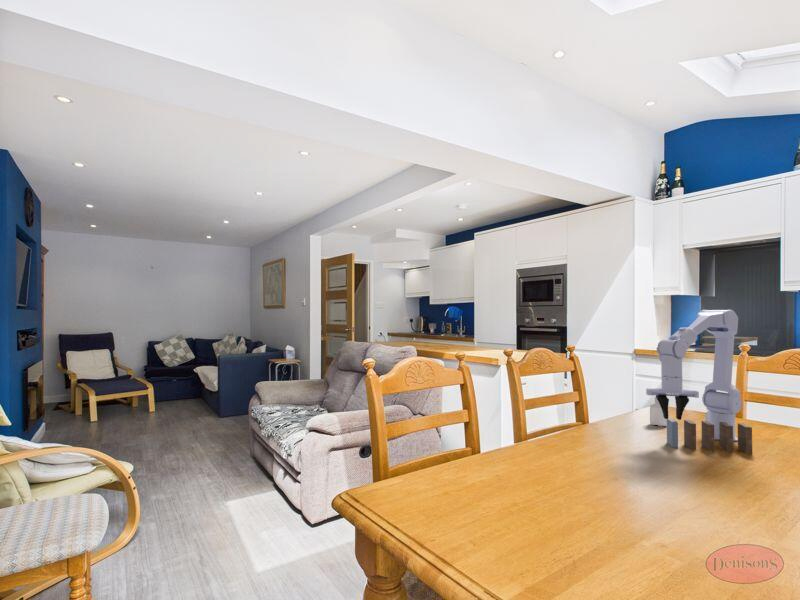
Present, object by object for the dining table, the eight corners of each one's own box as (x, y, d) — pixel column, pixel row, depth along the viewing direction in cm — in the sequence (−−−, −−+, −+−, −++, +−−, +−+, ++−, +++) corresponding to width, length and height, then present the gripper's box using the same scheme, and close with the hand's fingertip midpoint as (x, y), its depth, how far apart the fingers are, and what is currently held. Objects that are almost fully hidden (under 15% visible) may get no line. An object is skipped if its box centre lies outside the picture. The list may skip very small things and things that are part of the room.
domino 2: (690, 449, 135) (690, 423, 135) (684, 444, 140) (683, 419, 140) (696, 449, 134) (695, 423, 135) (689, 444, 139) (689, 420, 139)
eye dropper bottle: (663, 427, 160) (663, 395, 160) (648, 424, 164) (647, 393, 165) (669, 426, 162) (668, 394, 163) (653, 422, 167) (653, 392, 167)
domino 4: (727, 451, 132) (726, 425, 132) (719, 447, 137) (719, 421, 137) (733, 452, 132) (732, 426, 132) (725, 447, 137) (725, 422, 137)
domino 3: (708, 450, 133) (708, 424, 134) (701, 445, 138) (701, 420, 138) (714, 450, 133) (714, 425, 133) (707, 446, 138) (707, 421, 138)
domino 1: (672, 447, 136) (672, 422, 136) (666, 443, 141) (666, 418, 141) (678, 448, 136) (677, 422, 136) (672, 443, 140) (672, 418, 141)
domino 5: (746, 453, 131) (745, 427, 131) (737, 448, 136) (737, 423, 136) (752, 453, 130) (751, 427, 131) (743, 448, 135) (743, 423, 136)
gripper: (650, 377, 137) (651, 420, 136) (702, 379, 133) (703, 423, 133) (644, 374, 144) (644, 415, 143) (693, 376, 140) (694, 417, 140)
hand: (672, 418), depth 138 cm, fingers open, 3 cm apart
